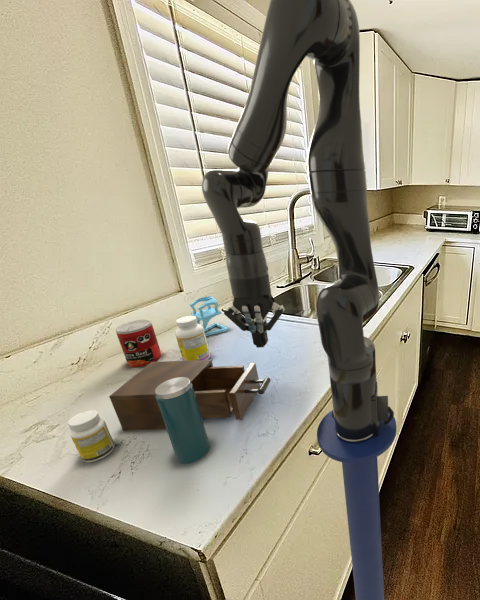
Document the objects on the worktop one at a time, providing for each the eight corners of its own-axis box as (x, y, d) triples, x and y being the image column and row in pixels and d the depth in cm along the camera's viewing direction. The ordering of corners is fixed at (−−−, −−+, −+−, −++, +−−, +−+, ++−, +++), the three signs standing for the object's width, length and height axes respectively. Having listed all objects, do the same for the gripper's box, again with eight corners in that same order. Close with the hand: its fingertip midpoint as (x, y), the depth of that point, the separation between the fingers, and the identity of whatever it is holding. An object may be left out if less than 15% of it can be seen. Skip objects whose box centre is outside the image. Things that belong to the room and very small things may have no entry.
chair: (192, 334, 107) (182, 300, 103) (216, 324, 114) (209, 292, 110) (204, 340, 103) (195, 305, 99) (229, 330, 110) (221, 297, 106)
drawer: (278, 386, 79) (273, 362, 76) (261, 419, 68) (256, 392, 66) (207, 389, 78) (201, 364, 76) (179, 422, 67) (171, 395, 65)
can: (215, 440, 64) (197, 375, 58) (200, 463, 59) (179, 394, 53) (187, 441, 64) (166, 376, 58) (170, 464, 59) (146, 396, 53)
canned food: (122, 369, 88) (108, 333, 84) (137, 354, 95) (125, 320, 91) (153, 366, 89) (141, 330, 86) (166, 351, 97) (156, 318, 93)
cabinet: (219, 390, 79) (211, 359, 76) (190, 427, 67) (180, 393, 64) (161, 392, 78) (151, 361, 75) (122, 430, 67) (108, 396, 64)
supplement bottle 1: (89, 447, 63) (73, 412, 60) (119, 440, 64) (105, 405, 61) (77, 466, 58) (59, 430, 55) (109, 458, 60) (93, 422, 57)
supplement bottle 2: (187, 356, 94) (175, 315, 90) (212, 352, 96) (202, 312, 91) (180, 368, 88) (168, 325, 84) (208, 364, 90) (197, 322, 85)
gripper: (206, 278, 64) (224, 355, 70) (275, 277, 64) (286, 353, 71) (224, 268, 71) (238, 338, 77) (285, 267, 71) (295, 337, 78)
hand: (261, 345), depth 74 cm, fingers closed
